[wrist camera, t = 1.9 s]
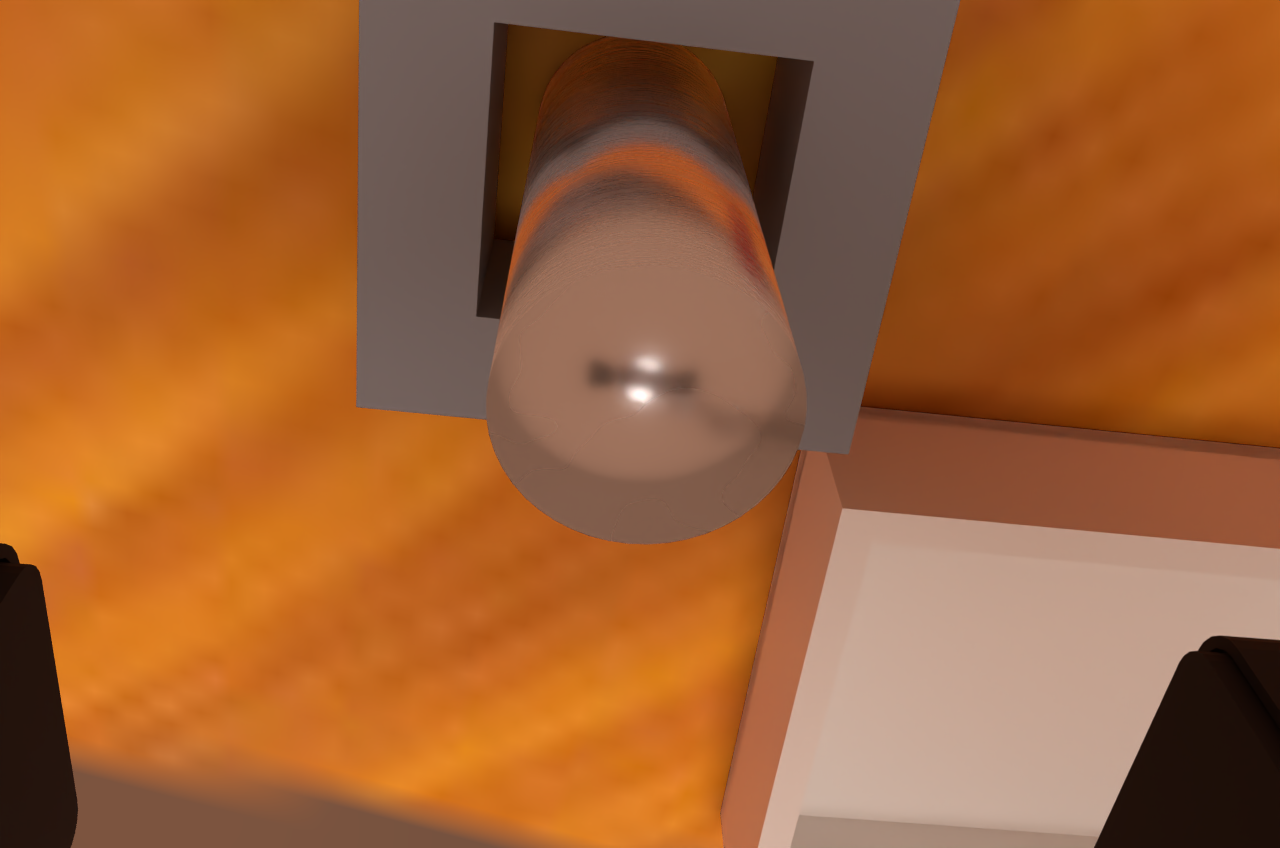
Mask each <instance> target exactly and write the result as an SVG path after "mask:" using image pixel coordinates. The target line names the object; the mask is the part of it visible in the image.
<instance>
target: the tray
mask: <svg viewBox="0 0 1280 848" xmlns="http://www.w3.org/2000/svg"><path fill="white" fill-rule="evenodd" d="M1219 635H1221V636H1234V637H1247V638H1261V639H1274V640H1280V448H1272V447H1262V446H1252V445H1242V444H1232V443H1222V442H1212V441H1201V440H1191V439H1181V438H1171V437H1161V436H1151V435H1141V434H1131V433H1121V432H1111V431H1101V430H1091V429H1081V428H1071V427H1061V426H1051V425H1041V424H1031V423H1021V422H1011V421H1001V420H991V419H981V418H970V417H960V416H950V415H940V414H930V413H920V412H910V411H900V410H890V409H880V408H870V407H860V410H859V414H858V418H857V422H856V426H855V430H854V434H853V438H852V443H851V447H850V451H849V454H838V453H828V452H818V451H807V450H801V452H800V457H799V461H798V466H797V470H796V475H795V479H794V484H793V488H792V493H791V497H790V502H789V506H788V511H787V515H786V520H785V524H784V529H783V533H782V538H781V542H780V547H779V551H778V556H777V560H776V565H775V569H774V574H773V578H772V583H771V587H770V592H769V596H768V601H767V605H766V610H765V614H764V619H763V623H762V628H761V632H760V637H759V641H758V646H757V650H756V655H755V659H754V664H753V668H752V673H751V677H750V682H749V686H748V691H747V695H746V700H745V704H744V709H743V713H742V718H741V722H740V727H739V731H738V736H737V740H736V745H735V749H734V754H733V758H732V763H731V767H730V772H729V776H728V781H727V785H726V790H725V794H724V799H723V803H722V808H721V812H720V815H721V825H722V835H723V846H724V848H1094V846H1095V844H1096V842H1097V840H1098V838H1099V835H1100V833H1101V831H1102V829H1103V827H1104V825H1105V822H1106V820H1107V818H1108V816H1109V814H1110V812H1111V809H1112V807H1113V805H1114V803H1115V801H1116V799H1117V796H1118V794H1119V792H1120V790H1121V788H1122V785H1123V783H1124V781H1125V779H1126V777H1127V775H1128V772H1129V770H1130V768H1131V766H1132V764H1133V762H1134V759H1135V757H1136V755H1137V753H1138V751H1139V749H1140V746H1141V744H1142V742H1143V740H1144V738H1145V736H1146V733H1147V731H1148V729H1149V727H1150V725H1151V722H1152V720H1153V718H1154V716H1155V714H1156V712H1157V709H1158V707H1159V705H1160V703H1161V701H1162V699H1163V696H1164V694H1165V692H1166V690H1167V688H1168V686H1169V683H1170V681H1171V679H1172V677H1173V675H1174V673H1175V670H1176V668H1177V666H1178V664H1179V662H1180V661H1181V659H1182V657H1183V656H1184V655H1185V654H1187V653H1188V652H1190V651H1198V649H1199V648H1200V646H1201V645H1202V643H1203V642H1204V641H1206V640H1207V639H1208V638H1210V637H1211V636H1219Z"/></svg>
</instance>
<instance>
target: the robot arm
mask: <svg viewBox="0 0 1280 848" xmlns="http://www.w3.org/2000/svg"><path fill="white" fill-rule="evenodd" d="M77 814H78V806H77V797H76V791H75V784H74V778H73V771H72V765H71V759H70V753H69V746H68V740H67V734H66V728H65V722H64V715H63V709H62V703H61V697H60V690H59V684H58V678H57V672H56V666H55V659H54V653H53V647H52V641H51V634H50V628H49V622H48V616H47V610H46V603H45V597H44V591H43V585H42V579H41V576H40V572H39V570H38V569H37V567H36V566H34V565H30V564H20V563H19V559H18V556H17V553H16V552H15V550H14V549H13V547H12V546H10V545H7V544H2V543H0V848H70V847H71V845H72V841H73V838H74V834H75V829H76V824H77ZM1094 848H1280V640H1274V639H1261V638H1247V637H1234V636H1221V635H1219V636H1211V637H1210V638H1208V639H1207V640H1206V641H1204V642H1203V643H1202V645H1201V646H1200V648H1199V649H1198V651H1190V652H1188V653H1187V654H1185V655H1184V656H1183V657H1182V659H1181V661H1180V662H1179V664H1178V666H1177V668H1176V670H1175V673H1174V675H1173V677H1172V679H1171V681H1170V683H1169V686H1168V688H1167V690H1166V692H1165V694H1164V696H1163V699H1162V701H1161V703H1160V705H1159V707H1158V709H1157V712H1156V714H1155V716H1154V718H1153V720H1152V722H1151V725H1150V727H1149V729H1148V731H1147V733H1146V736H1145V738H1144V740H1143V742H1142V744H1141V746H1140V749H1139V751H1138V753H1137V755H1136V757H1135V759H1134V762H1133V764H1132V766H1131V768H1130V770H1129V772H1128V775H1127V777H1126V779H1125V781H1124V783H1123V785H1122V788H1121V790H1120V792H1119V794H1118V796H1117V799H1116V801H1115V803H1114V805H1113V807H1112V809H1111V812H1110V814H1109V816H1108V818H1107V820H1106V822H1105V825H1104V827H1103V829H1102V831H1101V833H1100V835H1099V838H1098V840H1097V842H1096V844H1095V846H1094Z"/></svg>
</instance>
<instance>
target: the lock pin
mask: <svg viewBox="0 0 1280 848" xmlns="http://www.w3.org/2000/svg"><path fill="white" fill-rule="evenodd" d="M806 412H807V393H806V386H805V380H804V374H803V371H802V367H801V364H800V360H799V357H798V353H797V350H796V346H795V343H794V339H793V336H792V332H791V329H790V326H789V322H788V319H787V315H786V312H785V308H784V305H783V301H782V298H781V294H780V291H779V287H778V284H777V281H776V277H775V274H774V270H773V267H772V263H771V260H770V256H769V253H768V249H767V246H766V242H765V239H764V236H763V232H762V229H761V225H760V222H759V218H758V215H757V211H756V208H755V204H754V201H753V197H752V194H751V191H750V187H749V184H748V180H747V177H746V173H745V170H744V166H743V163H742V159H741V156H740V152H739V149H738V146H737V142H736V139H735V135H734V132H733V128H732V125H731V121H730V118H729V114H728V111H727V107H726V104H725V101H724V98H723V95H722V92H721V90H720V88H719V85H718V83H717V81H716V80H715V78H714V77H713V75H712V73H711V72H710V71H709V69H708V68H707V67H706V66H705V65H704V64H703V62H702V61H701V60H700V59H698V58H697V57H696V56H695V55H694V54H693V53H692V52H690V51H689V50H687V49H686V48H684V47H683V46H681V45H677V44H669V43H661V42H652V41H644V40H636V39H628V38H620V37H611V36H607V37H604V38H601V39H598V40H596V41H593V42H591V43H590V44H588V45H586V46H584V47H582V48H581V49H579V50H578V51H577V52H575V53H574V54H572V55H571V56H570V57H569V58H568V59H567V60H566V61H565V62H564V63H563V64H562V65H561V66H560V68H559V69H558V70H557V71H556V72H555V74H554V76H553V77H552V79H551V80H550V82H549V84H548V86H547V88H546V91H545V93H544V95H543V98H542V102H541V105H540V110H539V115H538V120H537V126H536V131H535V136H534V142H533V147H532V152H531V158H530V163H529V168H528V174H527V179H526V184H525V190H524V195H523V200H522V206H521V211H520V216H519V222H518V227H517V232H516V238H515V243H514V248H513V254H512V259H511V264H510V270H509V275H508V280H507V286H506V291H505V296H504V301H503V307H502V312H501V317H500V323H499V328H498V333H497V339H496V344H495V349H494V355H493V360H492V365H491V371H490V376H489V382H488V389H487V396H486V418H487V424H488V430H489V436H490V439H491V442H492V445H493V448H494V451H495V454H496V456H497V458H498V460H499V462H500V464H501V466H502V468H503V470H504V471H505V473H506V474H507V476H508V477H509V479H510V480H511V482H512V483H513V484H514V485H515V487H516V488H517V489H518V490H519V491H520V492H521V493H522V495H523V496H524V497H525V498H526V499H527V500H529V501H530V502H531V503H532V504H533V505H534V506H535V507H537V508H538V509H539V510H540V511H542V512H543V513H545V514H546V515H548V516H549V517H551V518H552V519H554V520H555V521H557V522H559V523H561V524H563V525H565V526H567V527H569V528H571V529H573V530H576V531H578V532H581V533H583V534H586V535H589V536H592V537H596V538H600V539H604V540H608V541H614V542H621V543H628V544H658V543H669V542H674V541H680V540H686V539H689V538H693V537H696V536H700V535H703V534H706V533H708V532H711V531H713V530H716V529H718V528H720V527H723V526H725V525H726V524H728V523H730V522H732V521H734V520H735V519H737V518H739V517H741V516H742V515H743V514H745V513H746V512H748V511H749V510H750V509H752V508H753V507H754V506H756V505H757V504H758V503H759V502H760V501H761V500H762V499H763V498H764V497H766V496H767V495H768V494H769V493H770V492H771V490H772V489H773V488H774V487H775V486H776V484H777V483H778V482H779V481H780V480H781V478H782V477H783V475H784V474H785V472H786V471H787V469H788V467H789V466H790V464H791V463H792V460H793V458H794V456H795V454H796V452H797V450H798V447H799V444H800V441H801V438H802V434H803V431H804V426H805V419H806Z"/></svg>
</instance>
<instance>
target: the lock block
mask: <svg viewBox="0 0 1280 848" xmlns="http://www.w3.org/2000/svg"><path fill="white" fill-rule="evenodd" d="M959 3H960V0H359V111H358V255H357V400H356V407H361V408H371V409H382V410H392V411H402V412H413V413H423V414H434V415H444V416H454V417H465V418H475V419H485V420H487V418H486V396H487V389H488V382H489V376H490V371H491V365H492V360H493V355H494V349H495V344H496V339H497V333H498V328H499V323H500V317H501V312H502V307H503V301H504V296H505V291H506V286H507V280H508V275H509V270H510V264H511V259H512V254H513V248H514V243H515V241H510V240H500V239H494V230H495V215H496V200H497V185H498V170H499V155H500V140H501V125H502V110H503V95H504V80H505V65H506V50H507V35H508V24H513V25H521V26H529V27H538V28H546V29H554V30H562V31H570V32H579V33H587V34H595V35H603V36H611V37H620V38H628V39H636V40H644V41H652V42H661V43H669V44H677V45H685V46H694V47H702V48H710V49H718V50H726V51H735V52H743V53H751V54H759V55H767V56H776V57H778V59H777V64H776V70H775V76H774V81H773V87H772V92H771V98H770V104H769V109H768V115H767V121H766V126H765V132H764V138H763V143H762V149H761V155H760V160H759V166H758V171H757V177H756V183H755V188H754V194H753V201H754V204H755V208H756V211H757V215H758V218H759V222H760V225H761V229H762V232H763V236H764V239H765V242H766V246H767V249H768V253H769V256H770V260H771V263H772V267H773V270H774V274H775V277H776V281H777V284H778V287H779V291H780V294H781V298H782V301H783V305H784V308H785V312H786V315H787V319H788V322H789V326H790V329H791V332H792V336H793V339H794V343H795V346H796V350H797V353H798V357H799V360H800V364H801V367H802V371H803V374H804V380H805V386H806V393H807V412H806V419H805V426H804V431H803V434H802V438H801V441H800V444H799V447H798V450H807V451H818V452H828V453H838V454H849V451H850V447H851V443H852V438H853V434H854V430H855V426H856V422H857V418H858V414H859V410H860V406H861V402H862V398H863V394H864V390H865V386H866V382H867V377H868V373H869V369H870V365H871V361H872V357H873V353H874V349H875V345H876V341H877V337H878V333H879V329H880V325H881V320H882V316H883V312H884V308H885V304H886V300H887V296H888V292H889V288H890V284H891V280H892V276H893V272H894V268H895V264H896V259H897V255H898V251H899V247H900V243H901V239H902V235H903V231H904V227H905V223H906V219H907V215H908V211H909V207H910V202H911V198H912V194H913V190H914V186H915V182H916V178H917V174H918V170H919V166H920V162H921V158H922V154H923V150H924V146H925V141H926V137H927V133H928V129H929V125H930V121H931V117H932V113H933V109H934V105H935V101H936V97H937V93H938V89H939V85H940V80H941V76H942V72H943V68H944V64H945V60H946V56H947V52H948V48H949V44H950V40H951V36H952V32H953V28H954V23H955V19H956V15H957V11H958V7H959Z"/></svg>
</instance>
